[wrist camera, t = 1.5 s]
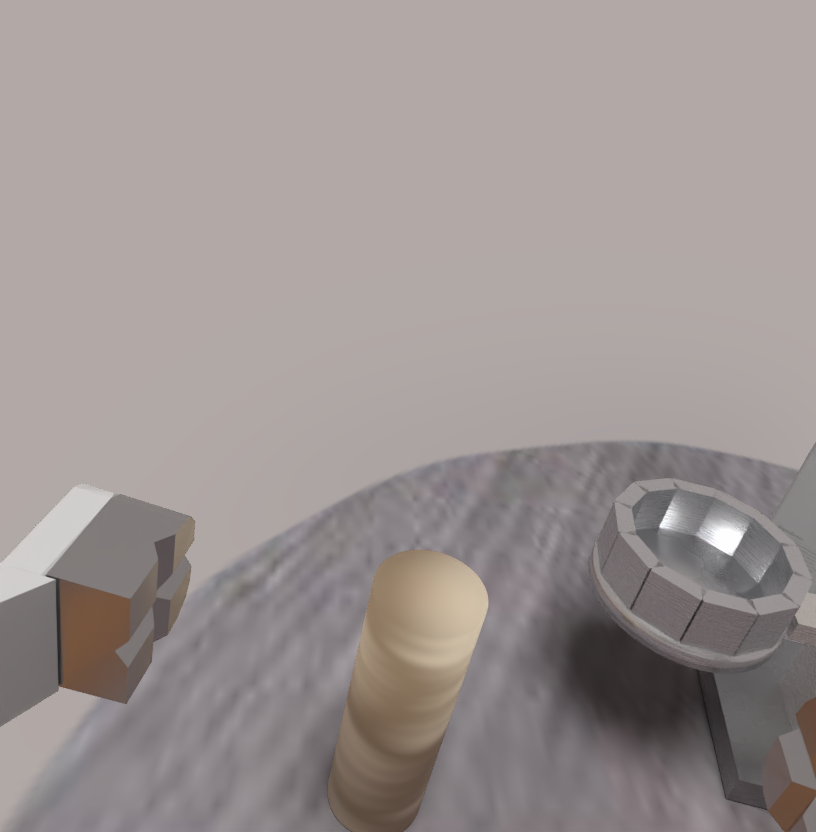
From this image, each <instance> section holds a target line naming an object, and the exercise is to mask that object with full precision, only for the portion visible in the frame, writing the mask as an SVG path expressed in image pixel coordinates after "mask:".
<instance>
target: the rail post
mask: <svg viewBox="0 0 816 832" xmlns="http://www.w3.org/2000/svg"><path fill="white" fill-rule="evenodd" d="M487 610H488V595H487V592H486V589H485V587H484V585H483V583H482V581H481V580H480V578H479V577H478V576H477V575H476V574H475V572H473V571H472V570H471V569H470V568H469V567H468V566H466V565H465V564H464V563H462V562H460V561H459V560H457V559H455V558H453V557H451V556H448V555H446V554H442V553H439V552H435V551H429V550H409V551H404V552H401V553H397V554H395V555H393V556H391V557H389V558H388V559H386V560H385V561H384V562H383V563H382V564H381V565H380V566H379V568H378V569H377V571H376V573H375V576H374V580H373V585H372V589H371V594H370V598H369V602H368V607H367V611H366V616H365V620H364V625H363V629H362V634H361V638H360V643H359V647H358V651H357V656H356V660H355V665H354V669H353V674H352V678H351V683H350V687H349V692H348V696H347V700H346V705H345V709H344V714H343V718H342V723H341V727H340V732H339V736H338V741H337V745H336V749H335V754H334V758H333V763H332V767H331V772H330V776H329V781H328V788H327V793H328V800H329V804H330V807H331V809H332V811H333V813H334V815H335V816H336V818H337V819H338V820H339V822H340V823H341V824H342V825H343V826H344V827H346V828H347V829H348V830H350V831H351V832H402V831H404V830H405V829H406V828H407V827H408V826H409V825H410V824H411V823H412V822H413V820H414V819H415V817H416V815H417V813H418V810H419V807H420V804H421V801H422V798H423V796H424V793H425V790H426V787H427V784H428V781H429V778H430V775H431V772H432V769H433V767H434V764H435V761H436V758H437V755H438V752H439V749H440V746H441V743H442V740H443V738H444V735H445V732H446V729H447V726H448V723H449V720H450V717H451V714H452V711H453V709H454V706H455V703H456V700H457V697H458V694H459V691H460V688H461V685H462V682H463V680H464V677H465V674H466V671H467V668H468V665H469V662H470V659H471V656H472V653H473V651H474V648H475V645H476V642H477V639H478V636H479V633H480V630H481V627H482V624H483V622H484V619H485V616H486V613H487Z"/></svg>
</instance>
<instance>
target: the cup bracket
mask: <svg viewBox="0 0 816 832" xmlns="http://www.w3.org/2000/svg"><path fill="white" fill-rule="evenodd" d="M588 576H589V581H590V584H591V587H592V590H593V592H594V594H595V596H596V598H597V599H598V601H599V602H600V604H601V606H602V607H603V609H604V610H605V611H606V612H607V613H608V615H609V616H610V617H611V618H612V619H613V620H614V621H615V622H616V623H617V624H618V625H619V626H620V627H621V628H622V629H623V630H624V631H625V632H626V633H628V634H629V635H630V636H631V637H632V638H634V639H635V640H637V641H638V642H639V643H641V644H642V645H644V646H645V647H647V648H649V649H650V650H652V651H654V652H655V653H657V654H659V655H661V656H663V657H665V658H667V659H669V660H671V661H674V662H676V663H679V664H681V665H684V666H687V667H690V668H694V669H697V670H698V674H699V679H700V683H701V688H702V692H703V697H704V701H705V706H706V710H707V715H708V719H709V724H710V728H711V733H712V737H713V742H714V746H715V751H716V755H717V760H718V764H719V769H720V774H721V778H722V783H723V787H724V792H725V796H726V799H729V800H733V801H737V802H741V803H744V804H748V805H752V806H756V807H760V808H764V809H767V806H766V802H765V798H764V793H763V778H762V773H763V769H764V764H765V760H766V756H767V753H768V751H769V750H770V748H771V747H772V745H773V744H774V742H775V741H776V739H777V738H778V737H779V736H781V735H783V734H786V733H789V732H791V731H794V730H797V729H799V727H798V723H797V718H796V713H797V712H798V711H799V709H800V708H801V707H802V706H803V705H804V703H805V702H806V701H808V700H811V699H813V698H815V697H816V594H812V593H808V590H809V588H810V586H811V584H812V582H813V581H812V580H813V579H812V577H811V574H810V572H809V570H808V568H807V565H806V563H805V561H804V559H803V556H802V554H801V552H800V550H799V547H798V546H797V545H796V544H795V543H794V542H793V541H792V540H791V539H790V538H789V537H788V536H787V535H786V534H784V533H783V532H782V531H781V530H780V529H779V528H778V527H777V526H776V525H775V524H774V523H772V522H771V521H770V520H769V519H768V518H767V517H766V516H765V515H764V514H761V512H759V511H757V510H755V509H754V508H752V507H750V506H748V505H746V504H744V503H742V502H740V501H738V500H736V499H735V498H733V497H731V496H729V495H727V494H725V493H723V492H721V491H719V490H717V491H716V489H714V488H710V487H706V486H702V485H698V484H694V483H690V482H685V481H681V480H677V479H673V478H672V479H671V478H666V479H656V480H646V481H636V482H635V483H634V482H633V483H632V484H631V485H630V486H629V487H628V488H627V489H626V490H625V491H624V492H623V493H622V494H621V495H620V496H619V497H617V498H616V499H615V501H614V503H613V505H612V508H611V510H610V512H609V515H608V517H607V519H606V522H605V524H604V526H603V529H602V531H601V532H600V534H599V536H598V538H597V540H596V542H595V544H594V547H593V549H592V551H591V554H590V556H589V561H588ZM786 633H787V636H788V639H791V640H795V641H799V642H803V643H805V644H801V643H797V642H793V641H789V640H785V639H784V637H785V635H786Z"/></svg>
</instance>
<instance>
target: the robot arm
mask: <svg viewBox="0 0 816 832" xmlns="http://www.w3.org/2000/svg"><path fill="white" fill-rule="evenodd" d="M194 529H195V520H193V518H192V517H191V516H188V515H185V514H182V513H178V512H175V511H172V510H169V509H166V508H162V507H159V506H156V505H153V504H149V503H146V502H144V501H140V500H137V499H134V498H130V497H127V496H124V495H121V494H119V495H118V494H115V493H112V492H109V491H105V490H102V489H99V488H96V487H93V486H90V485H87V484H84V483H83V484H80V485H78V486H75V487H73V488H72V489H71V490H70V491H69V492H68V493H67V494H66V495H65V496H64V497H63V498H62V499H61V500H60V501H59V502H58V503H57V504H56V505H55V506H54V507H53V508H52V509H51V510H50V511H49V512H48V513H47V514H46V515H45V517H44V518H43V519H42V520H41V521H40V522H39V523H38V524H37V525H36V526H35V527H34V528H33V529H32V530H31V531H30V532H29V533H28V534H27V535H26V536H25V537H24V538H23V539H22V541H21V542H19V543H18V545H17V546H16V547H15V548H14V549H13V550H12V551H11V552H10V553H9V554H8V555H7V556H6V557H5V558H4V559H3V560H2V561H1V562H0V727H1V726H2V725H4V724H5V723H7V722H9V721H10V720H12V719H14V718H15V717H17V716H18V715H20V714H22V713H23V712H25V711H27V710H28V709H30V708H31V707H33V706H35V705H36V704H38V703H39V702H41V701H42V700H44V699H46V698H47V697H49V696H51V695H52V694H54V693H55V692H57V691H58V689H59V686H60V687H63V688H67V689H71V690H75V691H78V692H82V693H86V694H90V695H93V696H97V697H101V698H105V699H108V700H112V701H116V702H120V703H124V704H127V702H128V700H129V699H130V697H131V695H132V694H133V692H134V690H135V689H136V687H137V685H138V684H139V682H140V680H141V679H142V677H143V675H144V674H145V672H146V670H147V669H148V667H149V665H150V664H151V662H152V650H153V642H155V641H157V640H159V639H161V638H163V637H165V636H167V635H168V633H169V631H170V630H171V628H172V626H173V624H174V623H175V621H176V619H177V617H178V615H179V612H180V610H181V607H182V605H183V602H184V600H185V597H186V593H187V589H188V585H189V581H190V573H191V565H190V563H189V561H188V560H187V558H186V557H185V554H186V552H187V551H188V549H189V547H190V546H191V544H192V543H193V541H194ZM796 718H797V723H798V727H799V729H797V730H794V731H791V732H789V733H786V734H783V735H781V736H779V737H778V738H777V739H776V741H775V742H774V744H773V745H772V747H771V748H770V750H769V751H768V753H767V756H766V760H765V764H764V769H763V773H762V778H763V793H764V798H765V802H766V806H767V810H768V812H769V813H770V814H771V816H772V817H773V818H774V819H775V821H776V822H777V823H778V824H779V826H780V827H781V828H782V829H783V831H784V832H816V697H815V698H813V699H811V700H808V701H806V702H805V703H804V705H803V706H802V707H801V708H800V709H799V711H798V712H797V713H796Z"/></svg>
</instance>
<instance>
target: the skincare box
mask: <svg viewBox="0 0 816 832" xmlns="http://www.w3.org/2000/svg"><path fill="white" fill-rule="evenodd" d="M770 521H771V522H772V523H774V524H775V525H776V526H777V527H778V528H779V529H780V530H781V531H782V532H783V533H784V534H786V535H787V536H788V537H789V538H790V539H791V540H792V541H793V542H794V543H795V544H796V545H797V546H798V547H799V550H800V552H801V554H802V556H803V559H804V561H805V563H806V565H807V568H808V570H809V572H810V574H811V577H812V579H813V580H812V581H813V582H812V584H811V586H810V588H809V590H808V593H812V594H816V443H815V444H814V446H813V448H812V449H811V451H810V452H809V454H808V456H807V457H806V459H805V461H804V463H803V465H802V466H801V468H800V470H799V472H798V473H797V475H796V477H795V478H794V480H793V482H792V484H791V485H790V487H789V489H788V490H787V492H786V494H785V496H784V497H783V499H782V501H781V502H780V504H779V506H778V508H777V509H776V511H775V513H774V514H773V516H772V518H771V520H770Z"/></svg>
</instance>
